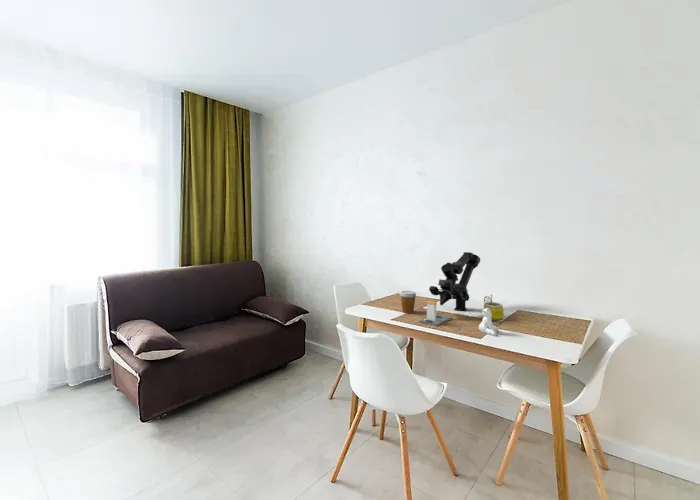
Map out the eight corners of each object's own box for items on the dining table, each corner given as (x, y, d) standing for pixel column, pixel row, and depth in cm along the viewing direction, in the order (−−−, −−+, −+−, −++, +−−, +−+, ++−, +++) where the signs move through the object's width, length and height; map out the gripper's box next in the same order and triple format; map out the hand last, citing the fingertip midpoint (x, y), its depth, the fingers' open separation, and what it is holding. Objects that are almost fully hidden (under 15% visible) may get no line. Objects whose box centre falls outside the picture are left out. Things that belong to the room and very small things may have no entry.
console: (435, 315, 195) (435, 312, 195) (452, 318, 188) (452, 315, 188) (419, 322, 182) (419, 318, 182) (436, 326, 175) (436, 322, 175)
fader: (428, 319, 184) (428, 300, 183) (436, 320, 180) (436, 302, 180) (426, 320, 182) (426, 301, 181) (434, 321, 179) (434, 302, 178)
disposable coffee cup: (415, 310, 207) (415, 290, 206) (416, 314, 197) (417, 294, 196) (399, 309, 208) (399, 290, 207) (400, 314, 198) (400, 293, 197)
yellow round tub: (505, 321, 183) (506, 299, 182) (484, 320, 185) (485, 298, 184) (500, 314, 196) (501, 294, 195) (480, 314, 198) (480, 293, 197)
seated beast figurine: (495, 336, 159) (496, 311, 158) (476, 333, 164) (477, 309, 163) (499, 331, 167) (499, 307, 166) (480, 328, 172) (481, 305, 171)
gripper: (430, 272, 197) (420, 294, 190) (461, 275, 184) (452, 299, 177) (437, 283, 203) (427, 305, 196) (467, 287, 191) (458, 310, 184)
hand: (440, 304), depth 188 cm, fingers closed
